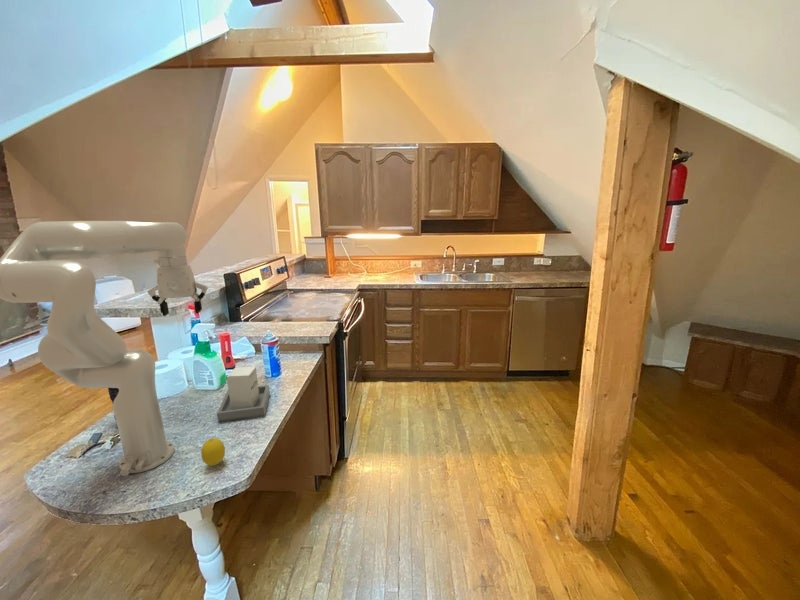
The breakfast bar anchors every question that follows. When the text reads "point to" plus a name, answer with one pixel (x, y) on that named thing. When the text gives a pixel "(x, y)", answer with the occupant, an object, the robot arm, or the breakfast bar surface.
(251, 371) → the supplement box
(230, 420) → the tray
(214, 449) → the lemon
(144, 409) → the robot arm
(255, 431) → the breakfast bar surface
